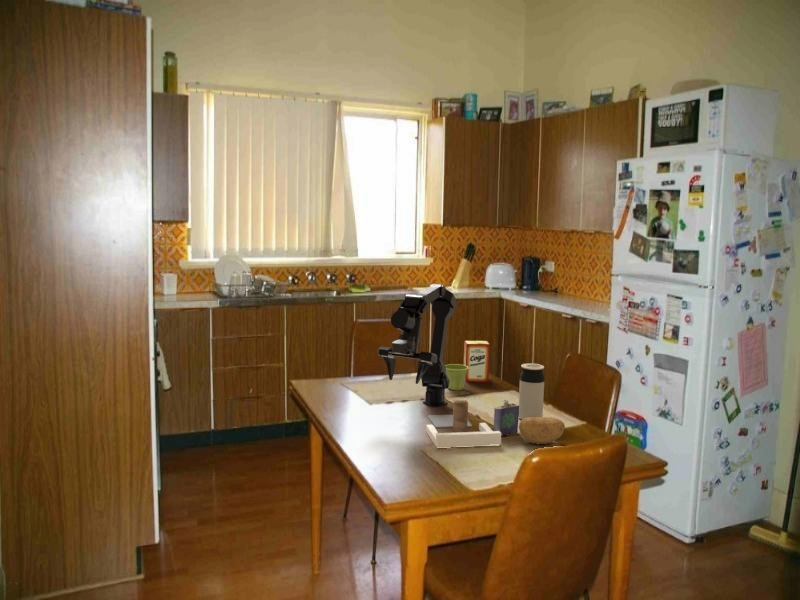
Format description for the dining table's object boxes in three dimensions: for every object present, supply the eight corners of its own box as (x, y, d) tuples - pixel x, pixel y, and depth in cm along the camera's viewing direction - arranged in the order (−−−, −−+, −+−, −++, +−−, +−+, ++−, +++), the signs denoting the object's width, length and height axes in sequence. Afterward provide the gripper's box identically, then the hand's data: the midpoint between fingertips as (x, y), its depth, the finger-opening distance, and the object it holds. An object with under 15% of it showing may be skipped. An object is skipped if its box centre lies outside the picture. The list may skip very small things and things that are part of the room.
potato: (570, 448, 193) (571, 421, 192) (524, 449, 190) (525, 423, 189) (556, 436, 202) (558, 411, 201) (513, 438, 200) (514, 413, 199)
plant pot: (468, 392, 252) (469, 369, 251) (444, 391, 252) (444, 369, 251) (466, 385, 261) (467, 364, 260) (442, 385, 261) (443, 363, 260)
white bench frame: (426, 430, 205) (426, 418, 205) (484, 428, 208) (485, 416, 208) (437, 448, 189) (437, 435, 189) (500, 446, 193) (501, 433, 192)
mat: (427, 416, 220) (427, 415, 220) (462, 415, 222) (462, 414, 222) (435, 427, 208) (435, 426, 208) (472, 426, 210) (472, 425, 210)
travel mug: (546, 418, 220) (549, 366, 218) (534, 423, 214) (536, 369, 212) (526, 413, 226) (528, 362, 223) (513, 418, 220) (515, 365, 218)
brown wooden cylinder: (459, 431, 205) (460, 397, 203) (469, 435, 202) (471, 400, 200) (449, 434, 202) (450, 399, 201) (460, 438, 199) (461, 403, 197)
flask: (496, 437, 200) (497, 403, 199) (490, 434, 203) (491, 401, 201) (519, 433, 205) (521, 399, 204) (513, 430, 207) (515, 397, 206)
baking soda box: (465, 381, 268) (466, 342, 266) (463, 377, 274) (464, 339, 272) (488, 381, 268) (490, 343, 266) (485, 378, 274) (487, 340, 272)
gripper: (373, 326, 208) (366, 375, 206) (428, 332, 200) (420, 383, 198) (388, 331, 218) (381, 378, 216) (441, 337, 210) (434, 386, 208)
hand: (403, 381), depth 209 cm, fingers open, 9 cm apart
